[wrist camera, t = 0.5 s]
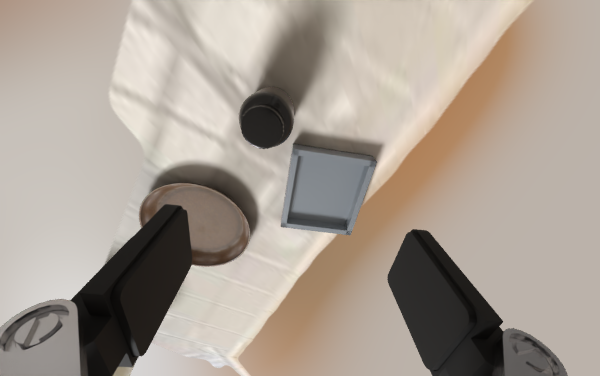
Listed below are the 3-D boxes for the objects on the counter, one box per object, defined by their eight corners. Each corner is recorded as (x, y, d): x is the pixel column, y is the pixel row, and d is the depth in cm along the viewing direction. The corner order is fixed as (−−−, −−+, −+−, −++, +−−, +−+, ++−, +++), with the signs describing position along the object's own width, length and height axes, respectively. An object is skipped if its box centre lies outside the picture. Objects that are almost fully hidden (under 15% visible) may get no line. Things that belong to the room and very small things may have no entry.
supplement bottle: (303, 110, 35) (306, 131, 25) (273, 139, 37) (263, 169, 27) (272, 74, 33) (260, 80, 22) (241, 107, 35) (217, 127, 24)
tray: (293, 143, 38) (292, 148, 36) (372, 156, 39) (376, 161, 37) (281, 218, 46) (280, 226, 43) (347, 227, 47) (350, 235, 45)
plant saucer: (213, 269, 53) (208, 281, 50) (129, 219, 45) (117, 229, 43) (273, 221, 46) (271, 231, 43) (185, 152, 39) (176, 159, 36)
